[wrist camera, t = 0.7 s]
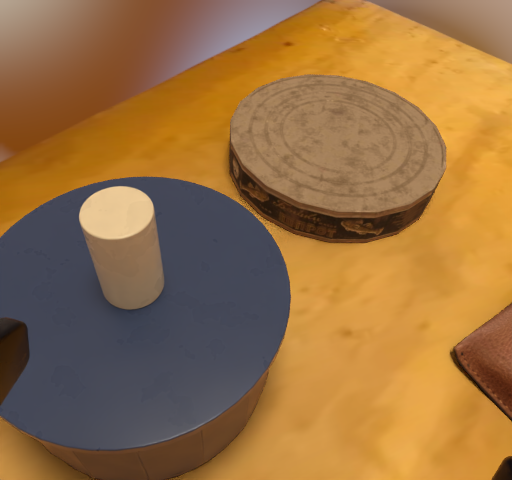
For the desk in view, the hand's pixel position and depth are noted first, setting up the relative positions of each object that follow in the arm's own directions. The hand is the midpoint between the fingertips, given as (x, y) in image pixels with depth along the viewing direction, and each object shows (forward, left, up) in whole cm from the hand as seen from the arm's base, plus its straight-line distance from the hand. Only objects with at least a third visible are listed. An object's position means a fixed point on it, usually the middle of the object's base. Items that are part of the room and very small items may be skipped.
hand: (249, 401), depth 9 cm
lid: (+5, +8, -9) cm, 13 cm away
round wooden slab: (+25, +5, -16) cm, 30 cm away
